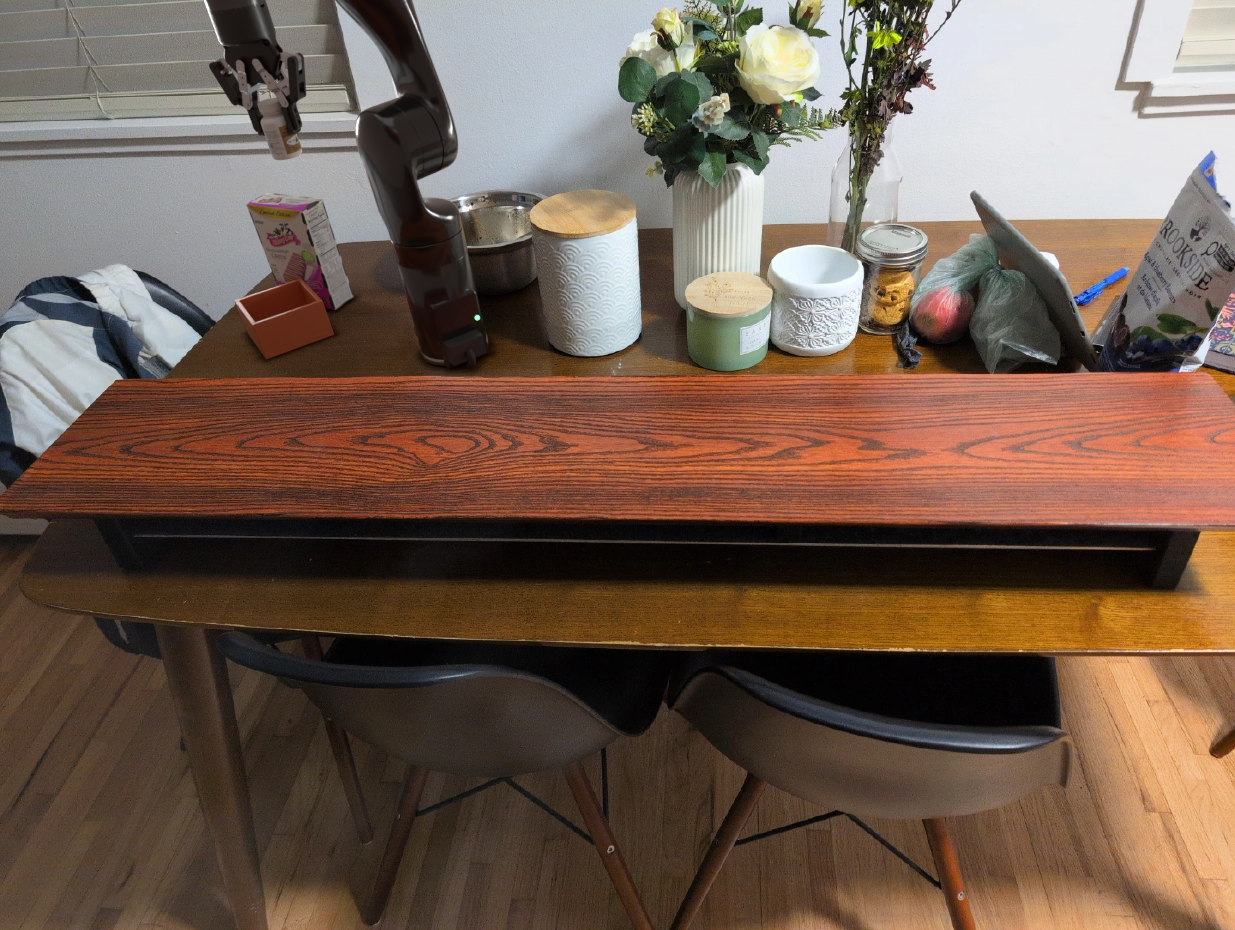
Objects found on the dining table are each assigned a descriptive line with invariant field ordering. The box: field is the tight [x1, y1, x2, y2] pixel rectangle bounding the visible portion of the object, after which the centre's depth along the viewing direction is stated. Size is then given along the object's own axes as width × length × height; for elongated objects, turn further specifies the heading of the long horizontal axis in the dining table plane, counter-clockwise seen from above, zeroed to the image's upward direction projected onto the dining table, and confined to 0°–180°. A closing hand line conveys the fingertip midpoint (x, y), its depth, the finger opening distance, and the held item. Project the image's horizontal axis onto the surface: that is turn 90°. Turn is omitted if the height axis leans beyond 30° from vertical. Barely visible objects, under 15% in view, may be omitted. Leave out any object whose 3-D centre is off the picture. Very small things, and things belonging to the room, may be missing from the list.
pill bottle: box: [257, 97, 303, 161], centre depth 123 cm, size 4×4×8 cm
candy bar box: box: [245, 192, 354, 311], centre depth 130 cm, size 11×5×16 cm, turn 65°
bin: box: [233, 278, 335, 360], centre depth 125 cm, size 10×10×6 cm
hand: (280, 132), depth 123 cm, fingers closed on pill bottle, 4 cm apart
